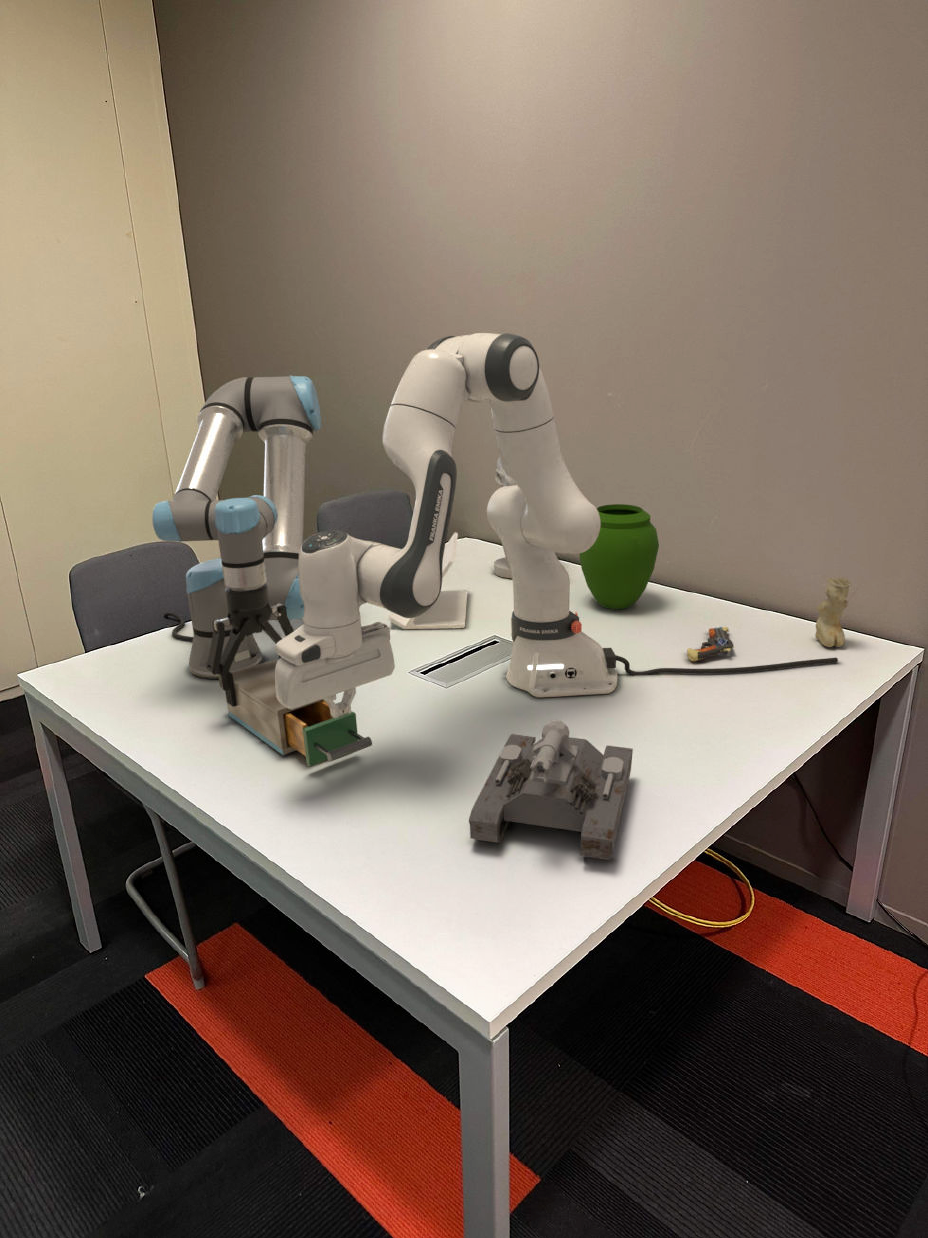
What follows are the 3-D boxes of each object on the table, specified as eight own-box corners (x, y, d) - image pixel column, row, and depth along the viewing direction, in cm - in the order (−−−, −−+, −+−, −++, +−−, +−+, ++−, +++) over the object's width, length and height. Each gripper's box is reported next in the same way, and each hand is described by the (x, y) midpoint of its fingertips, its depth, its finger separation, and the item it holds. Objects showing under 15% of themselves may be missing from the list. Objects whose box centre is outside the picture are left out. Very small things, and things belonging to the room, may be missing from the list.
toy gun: (688, 652, 178) (737, 649, 176) (682, 625, 196) (728, 622, 194) (688, 664, 179) (738, 661, 177) (683, 637, 197) (728, 634, 195)
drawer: (378, 759, 142) (375, 724, 140) (328, 780, 136) (324, 743, 134) (300, 710, 161) (297, 679, 159) (254, 726, 156) (249, 694, 154)
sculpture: (821, 649, 184) (830, 583, 179) (808, 637, 191) (816, 573, 185) (848, 649, 184) (858, 582, 179) (834, 636, 191) (843, 572, 185)
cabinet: (336, 735, 153) (332, 692, 150) (283, 755, 147) (277, 710, 144) (279, 698, 169) (274, 659, 166) (228, 715, 163) (222, 674, 160)
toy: (511, 760, 144) (510, 679, 139) (631, 775, 138) (635, 691, 133) (469, 848, 121) (466, 755, 116) (610, 870, 116) (614, 774, 110)
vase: (599, 587, 227) (601, 497, 218) (668, 600, 216) (673, 505, 208) (562, 608, 212) (564, 513, 204) (634, 623, 202) (639, 523, 193)
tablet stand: (467, 593, 225) (465, 531, 219) (465, 628, 202) (462, 559, 196) (399, 594, 226) (395, 532, 220) (388, 629, 203) (384, 560, 197)
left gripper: (293, 567, 164) (304, 671, 172) (175, 594, 151) (193, 706, 158) (312, 575, 159) (323, 683, 166) (192, 604, 145) (210, 720, 153)
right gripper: (377, 614, 142) (383, 689, 146) (265, 647, 130) (275, 728, 135) (399, 623, 137) (404, 701, 142) (285, 659, 125) (295, 742, 130)
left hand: (260, 694), depth 162 cm, fingers closed on cabinet, 11 cm apart
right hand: (341, 714), depth 138 cm, fingers closed
